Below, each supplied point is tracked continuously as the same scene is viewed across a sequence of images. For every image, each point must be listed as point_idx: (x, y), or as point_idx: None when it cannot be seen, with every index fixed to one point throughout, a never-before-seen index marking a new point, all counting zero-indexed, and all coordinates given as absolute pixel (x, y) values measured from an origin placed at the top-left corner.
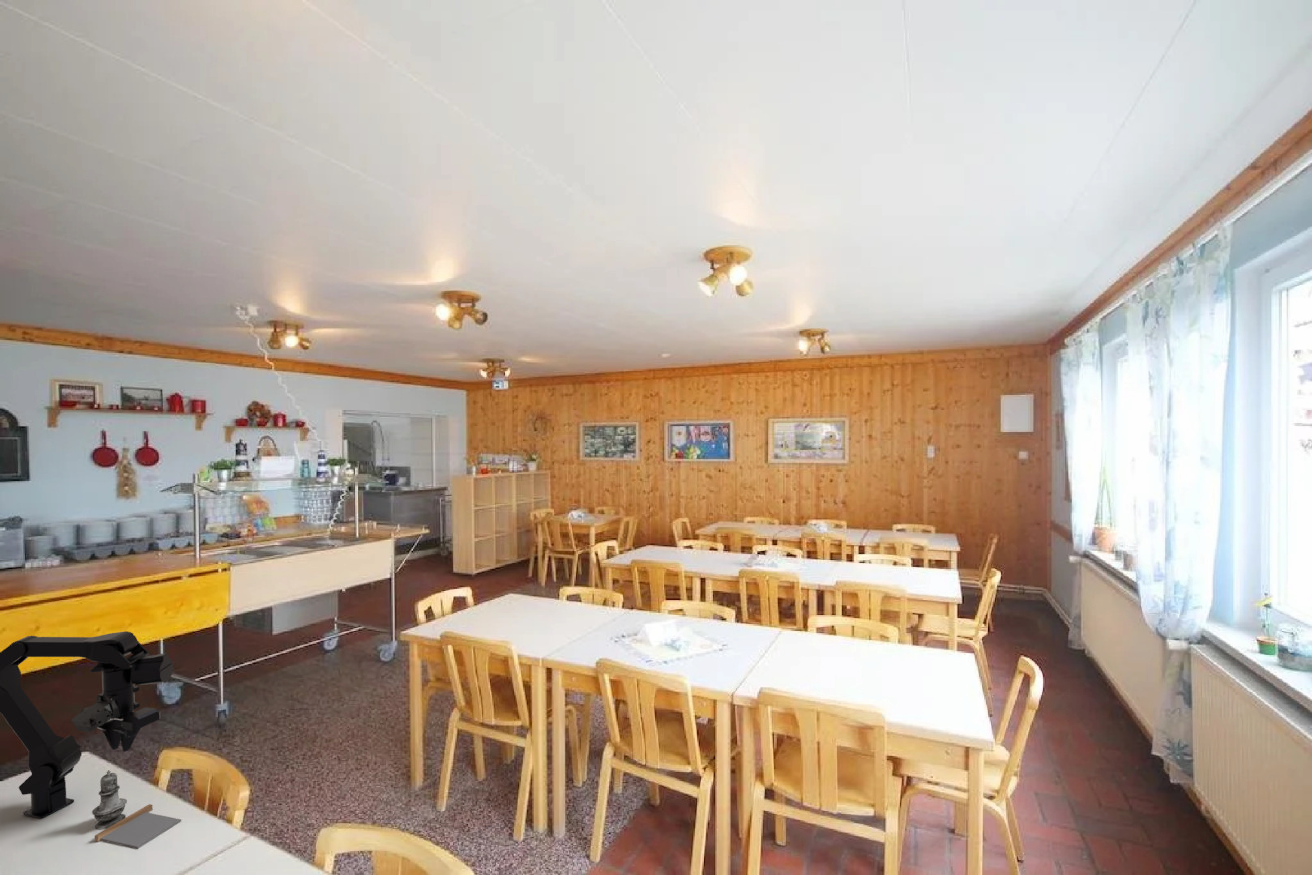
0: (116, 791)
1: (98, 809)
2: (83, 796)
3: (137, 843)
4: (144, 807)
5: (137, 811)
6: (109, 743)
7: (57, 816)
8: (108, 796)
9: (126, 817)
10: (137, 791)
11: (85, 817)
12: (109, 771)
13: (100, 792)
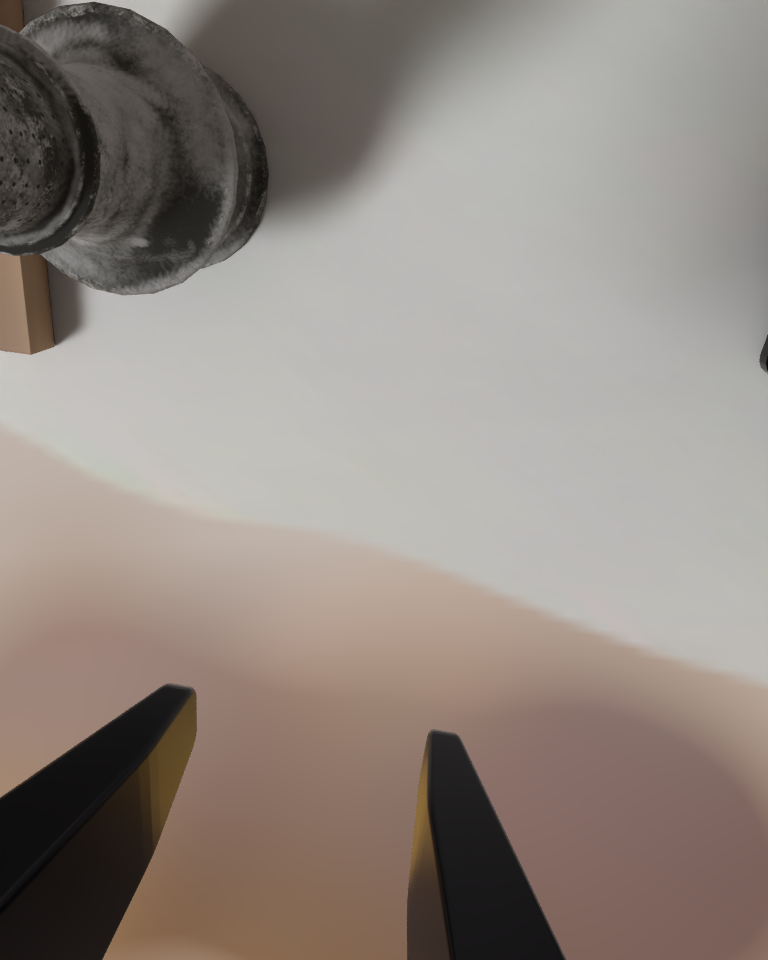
0: None
1: (109, 54)
2: (750, 443)
3: None
4: (21, 314)
5: (11, 258)
6: (489, 828)
7: (725, 173)
8: None
9: None
10: (367, 523)
11: (446, 193)
12: None
13: (14, 55)
